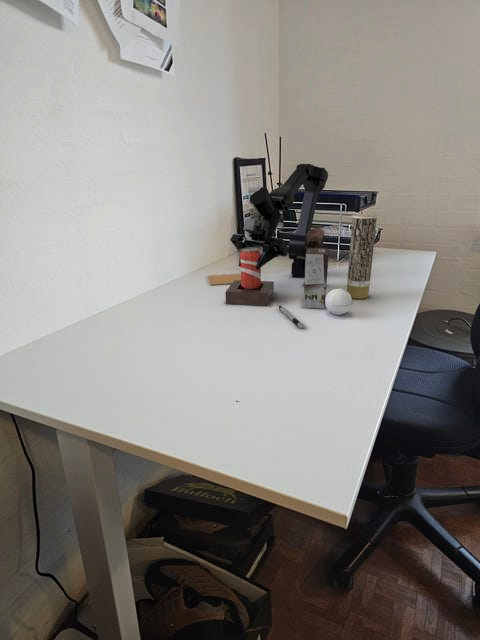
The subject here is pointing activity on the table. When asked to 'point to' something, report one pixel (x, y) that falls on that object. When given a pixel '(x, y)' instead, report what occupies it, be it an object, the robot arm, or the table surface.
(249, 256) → the beverage can
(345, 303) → the seamed sphere
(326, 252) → the coffee box
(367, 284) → the bark patterned cylinder
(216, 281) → the cork mat
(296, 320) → the pen
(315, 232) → the statue
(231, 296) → the stand
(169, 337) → the table surface
